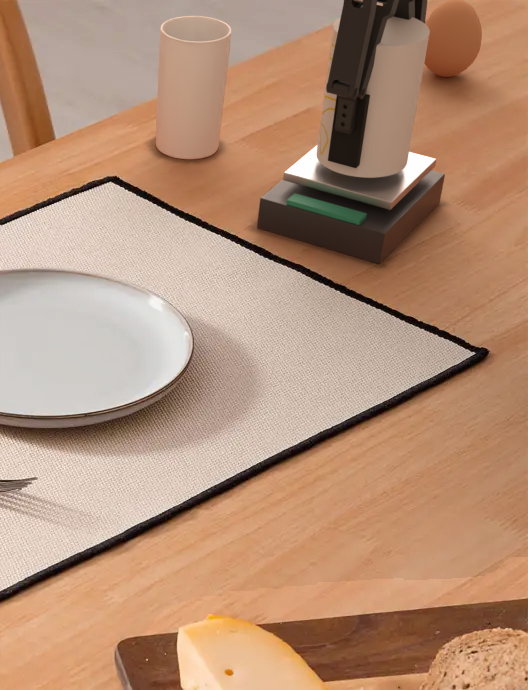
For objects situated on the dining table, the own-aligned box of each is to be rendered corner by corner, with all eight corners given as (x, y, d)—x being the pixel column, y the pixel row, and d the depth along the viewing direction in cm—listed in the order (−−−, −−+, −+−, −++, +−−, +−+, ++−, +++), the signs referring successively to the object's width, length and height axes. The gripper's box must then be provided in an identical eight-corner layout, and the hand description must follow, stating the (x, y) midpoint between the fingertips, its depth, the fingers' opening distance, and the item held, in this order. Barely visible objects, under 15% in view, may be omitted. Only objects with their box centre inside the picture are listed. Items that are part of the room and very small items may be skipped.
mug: (213, 165, 151) (224, 45, 144) (146, 156, 153) (153, 37, 145) (232, 123, 159) (243, 8, 152) (167, 115, 160) (175, 0, 153)
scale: (439, 203, 145) (446, 169, 143) (379, 264, 136) (385, 228, 134) (322, 171, 150) (326, 137, 148) (256, 227, 141) (260, 193, 139)
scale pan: (435, 166, 143) (436, 158, 142) (390, 210, 136) (391, 202, 135) (331, 139, 147) (332, 131, 147) (282, 180, 140) (283, 172, 140)
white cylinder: (311, 137, 144) (328, 9, 137) (399, 139, 144) (421, 11, 136) (321, 176, 138) (339, 45, 130) (414, 178, 137) (437, 46, 130)
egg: (414, 61, 172) (426, -13, 167) (474, 66, 171) (488, -9, 166) (413, 83, 167) (426, 8, 162) (474, 89, 166) (489, 13, 161)
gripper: (410, -154, 134) (372, 96, 148) (305, -91, 121) (274, 177, 135) (494, -140, 131) (447, 114, 145) (396, -73, 117) (354, 200, 131)
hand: (364, 144), depth 140 cm, fingers closed on white cylinder, 8 cm apart
